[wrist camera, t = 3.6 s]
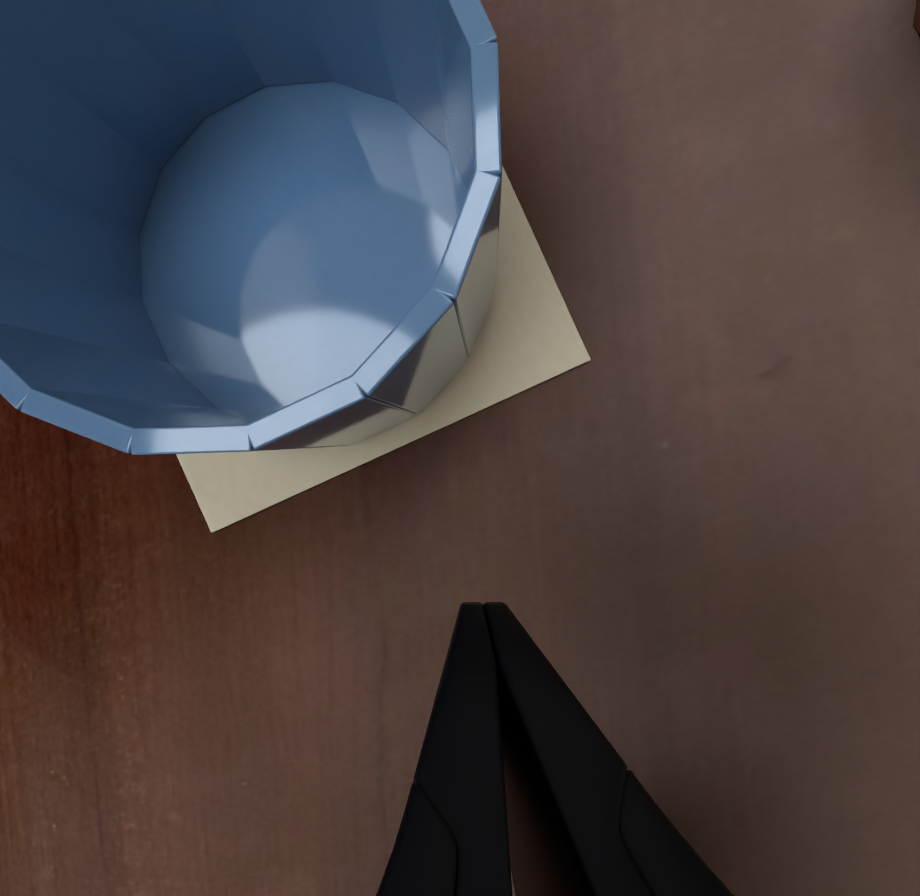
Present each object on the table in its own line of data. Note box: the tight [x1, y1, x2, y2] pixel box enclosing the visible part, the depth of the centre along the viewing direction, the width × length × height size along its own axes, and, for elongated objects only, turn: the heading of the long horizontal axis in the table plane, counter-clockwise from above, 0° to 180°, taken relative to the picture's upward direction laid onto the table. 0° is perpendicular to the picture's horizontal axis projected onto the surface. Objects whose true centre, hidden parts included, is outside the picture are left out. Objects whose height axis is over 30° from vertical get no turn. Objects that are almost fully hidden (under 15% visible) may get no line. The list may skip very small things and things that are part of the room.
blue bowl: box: [0, 0, 502, 455], centre depth 17 cm, size 16×16×10 cm
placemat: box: [176, 166, 591, 533], centre depth 22 cm, size 20×19×1 cm
